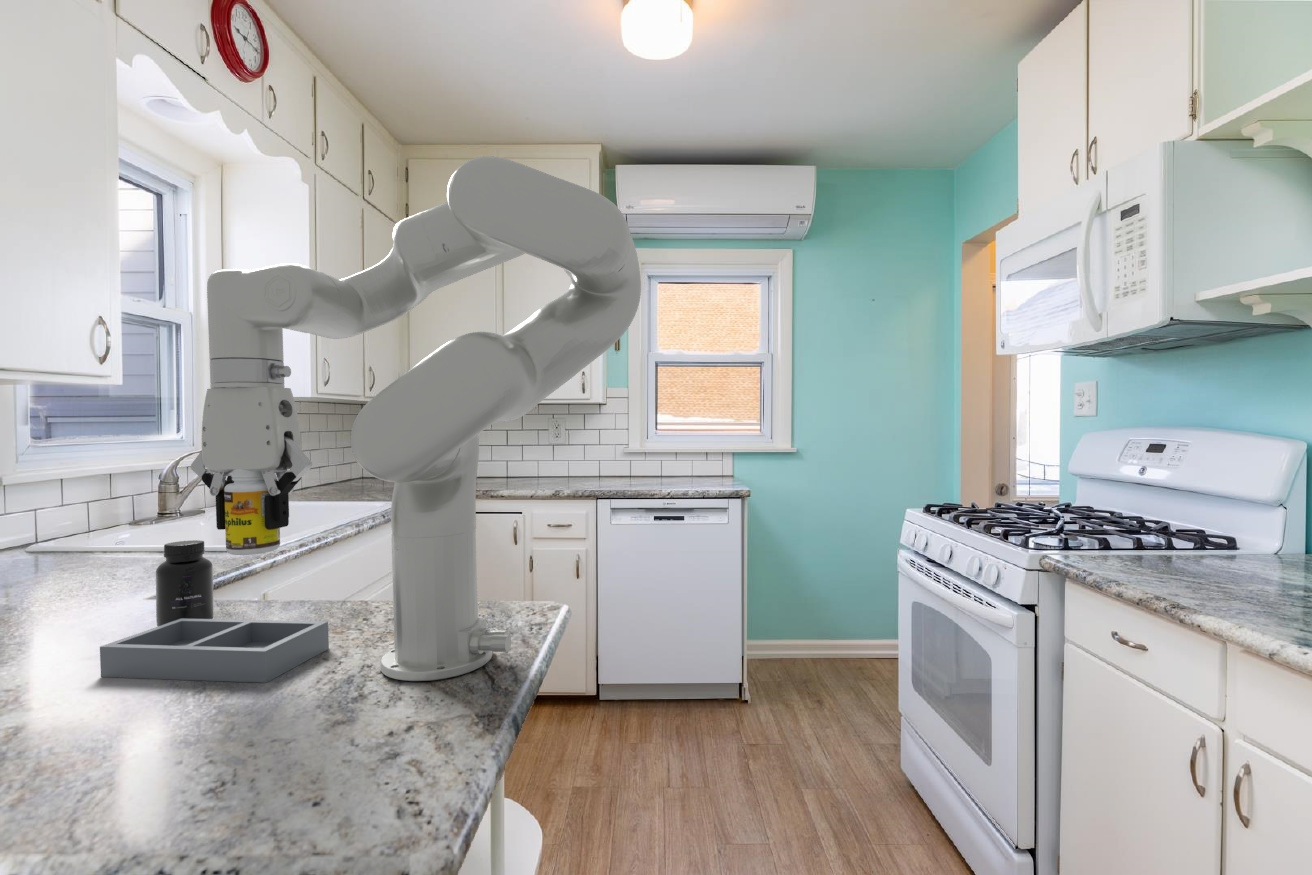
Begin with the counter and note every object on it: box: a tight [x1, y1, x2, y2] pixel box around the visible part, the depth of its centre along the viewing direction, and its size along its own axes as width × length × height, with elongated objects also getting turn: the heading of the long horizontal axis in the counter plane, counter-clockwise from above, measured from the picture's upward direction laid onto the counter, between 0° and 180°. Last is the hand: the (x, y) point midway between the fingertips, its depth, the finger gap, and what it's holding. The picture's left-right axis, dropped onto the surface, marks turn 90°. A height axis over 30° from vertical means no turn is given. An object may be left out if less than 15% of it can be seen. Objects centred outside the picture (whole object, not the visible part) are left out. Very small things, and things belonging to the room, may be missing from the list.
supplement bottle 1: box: [155, 539, 214, 627], centre depth 96 cm, size 7×7×12 cm
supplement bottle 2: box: [224, 469, 281, 556], centre depth 78 cm, size 6×6×10 cm
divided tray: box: [99, 618, 330, 684], centre depth 79 cm, size 21×11×4 cm, turn 82°
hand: (253, 526), depth 78 cm, fingers closed on supplement bottle 2, 5 cm apart
